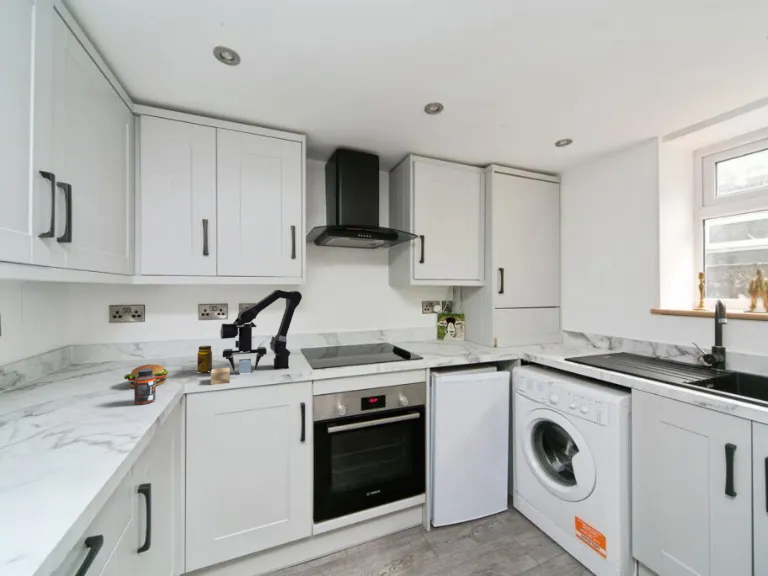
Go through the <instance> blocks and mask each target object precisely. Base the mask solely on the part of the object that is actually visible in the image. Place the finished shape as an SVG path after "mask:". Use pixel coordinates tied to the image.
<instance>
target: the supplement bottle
mask: <svg viewBox="0 0 768 576" xmlns="http://www.w3.org/2000/svg"><path fill="white" fill-rule="evenodd" d="M138 375H139V376H137V377H136V378H135V388H134V391H133V392H134V399H133V401H134V404H136V405H140V406H141V405H147V404H151V403H153V402H155V400H156V397H157V396H156V392H157V390H156V389H157V388H156V376H155V375H153V371H152V369H141V370H139V371H138Z"/></svg>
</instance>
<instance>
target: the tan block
mask: <svg viewBox="0 0 768 576" xmlns="http://www.w3.org/2000/svg"><path fill="white" fill-rule="evenodd" d="M230 371H231V368H230V367H221V368H218V369H213V368H212V371H211V372H210V385H211V386H213V385H224V384H230V382H231V381H230V380H231V379H230V377H231V375H230V374H231V372H230Z"/></svg>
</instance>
